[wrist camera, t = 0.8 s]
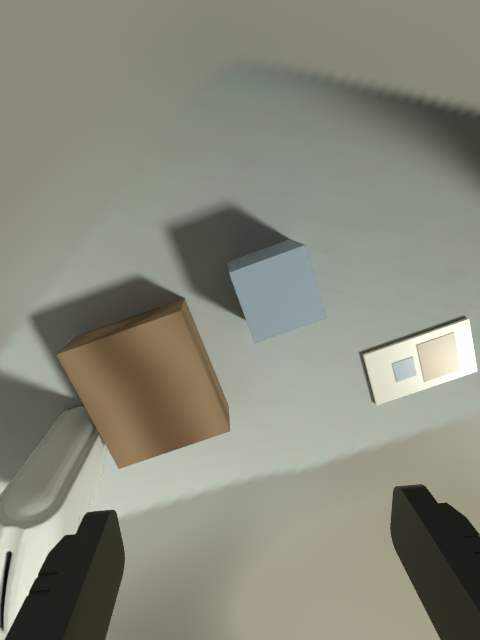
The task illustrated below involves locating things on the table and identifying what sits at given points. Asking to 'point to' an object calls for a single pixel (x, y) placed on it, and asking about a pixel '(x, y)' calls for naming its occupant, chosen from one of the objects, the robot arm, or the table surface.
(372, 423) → the table surface
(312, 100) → the table surface
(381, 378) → the page
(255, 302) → the top brick
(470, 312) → the table surface
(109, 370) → the base brick
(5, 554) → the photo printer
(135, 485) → the table surface
